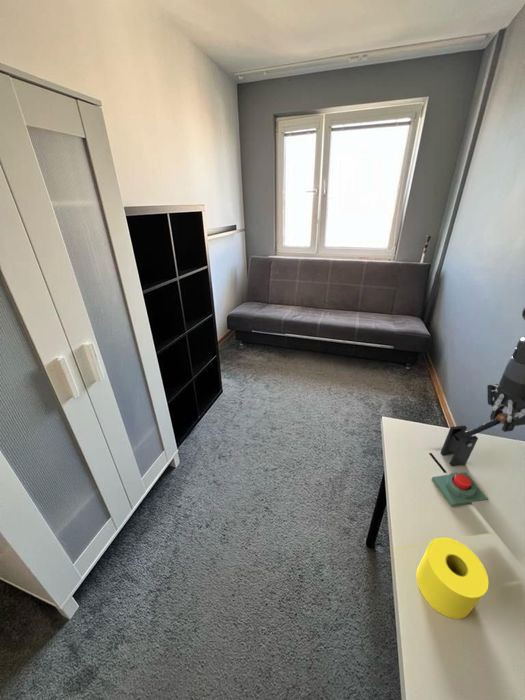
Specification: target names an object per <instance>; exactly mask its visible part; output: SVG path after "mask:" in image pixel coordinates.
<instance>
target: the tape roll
mask: <svg viewBox="0 0 525 700" xmlns="http://www.w3.org/2000/svg"><path fill="white" fill-rule="evenodd" d="M415 574H416V575H415V576H416V577H415V578H416V583H417V586H418V589H419V590H420V593H421V595H422V596H423V598H424V599H425V601H426V602H427V603H428V604H429V606H431V608H433V609H434V610H435V611H436V612H437V613H439V614H441V615H443V616H445V617H446V618H449V619H454V620H461V619H464V618H465V617H467V616H468V615H469V614H470V613H471V611H472V610H473V609H474V608H475V607H476V605H477V604H478V603H479V601H480V600H481V599H482V597H483V596H484V595H486V593H487V591H488V588H489V575H488V573H487V570H486V568H485V566H484V564H483V562H482V561H481V560H480V558H479V557H478V556H477V554H476V553H474V552H473V550H471V548H469V547H467V546H466V545H464V544H463V543H462V542H460V541H459V540H456V539H454V538H450V537H446V536H444V537H443V536H441V537H440V536H439V537H436V538H433V539H432V540H431V541H430V542H429V544H428V546H427V548H426V550H425V552H424V554H423V557H422V558H421V560H420V562H419V564H418V566H417V569H416V572H415Z"/></svg>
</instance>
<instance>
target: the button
mask: <svg viewBox="0 0 525 700" xmlns="http://www.w3.org/2000/svg"><path fill="white" fill-rule="evenodd" d="M453 482H454V484H455V485H456V486H457V487H458V488H459V489H462V490H468V489H469V487H470V485H471V481H470V479H469V478H468V477H466V476H464V475H462V474H457V475H456V476H455V478H454V480H453Z"/></svg>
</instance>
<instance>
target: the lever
mask: <svg viewBox="0 0 525 700" xmlns="http://www.w3.org/2000/svg"><path fill="white" fill-rule="evenodd" d="M507 416H508V414H507V412H503V413H499V414H498V415H497V416H496V419H495V420H492V421H491V420H490V421H488V422H486V423H484V424H481V425H479V426H476V427H474V428H473V429H470V430H468V431H464V430H462V431H459V432H457V433H455V434H454V435H455V439H456V440H457V441H458V442H459V441H460V438H461V437H468V436H476V435H477V434H479V433H482V432H484V431H486V430H489V429H491V428H493V427H496V426H497V425H500V424H501V425H504V423H505V421H506V420H507Z"/></svg>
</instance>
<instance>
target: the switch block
mask: <svg viewBox="0 0 525 700" xmlns="http://www.w3.org/2000/svg"><path fill="white" fill-rule="evenodd" d="M457 474H462V475H464V476H466V477H468V478H469V479H470V481H471V485H470V487H469V489H468V490H462V489H459V488H458V487H457V486H456V485H455V484H454V482H453V480H454V478H455V476H456V475H457ZM431 481H432V483H433V484H434V485H435V486H436V488H437V489H438V491H439V492H440V493H441V495H442V496H443V498H444V499H445V501H446V502H447V503H448V505H449V506H450V508H452V507H461V506H467V505H473V503H474V502H480V501H488V500H489V498H488V497H487V495H486V494H485V493H484V492H483V491H482V489H480V487H479V486H478V485H477V484H476V483H475V482H474V481H473V480H472V478H471V477H470V476H469V475H468V474H467V472H450V473H449V474H443V475H435V476H432V477H431Z"/></svg>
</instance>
